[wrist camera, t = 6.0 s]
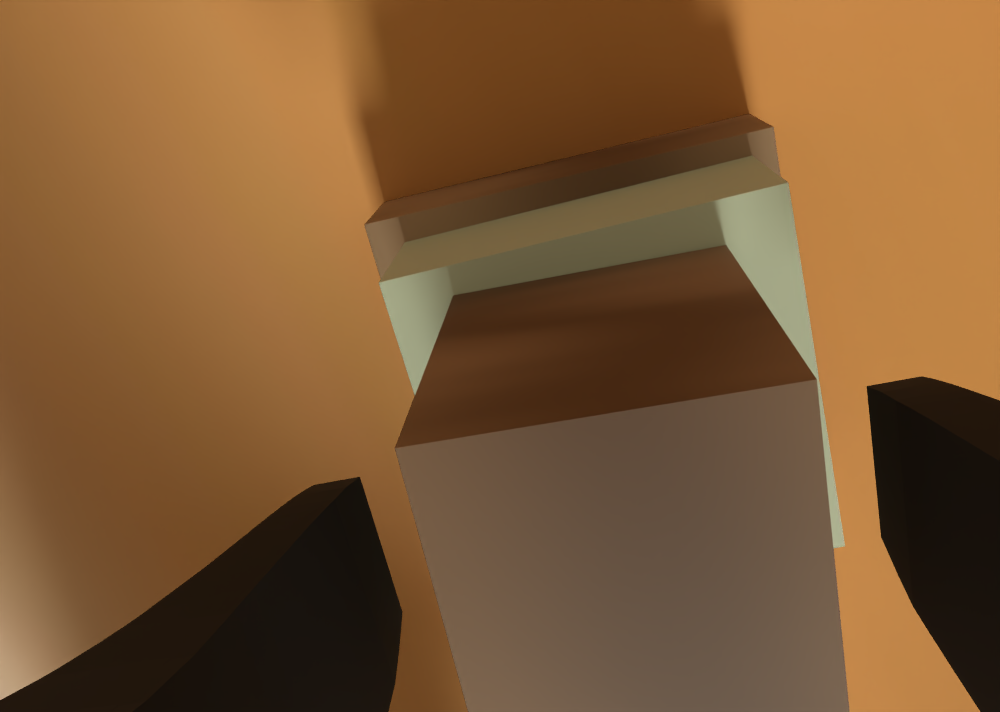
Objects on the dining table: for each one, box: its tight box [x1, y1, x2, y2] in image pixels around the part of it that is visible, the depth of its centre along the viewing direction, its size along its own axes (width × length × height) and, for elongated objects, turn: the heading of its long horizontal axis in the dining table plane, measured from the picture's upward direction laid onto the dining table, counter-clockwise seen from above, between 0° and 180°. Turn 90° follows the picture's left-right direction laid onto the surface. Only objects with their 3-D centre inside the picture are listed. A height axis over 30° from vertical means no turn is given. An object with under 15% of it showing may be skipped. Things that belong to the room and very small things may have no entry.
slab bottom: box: [364, 114, 781, 278], centre depth 18 cm, size 7×7×2 cm
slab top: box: [379, 156, 845, 548], centre depth 15 cm, size 6×6×2 cm
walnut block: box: [395, 245, 849, 712], centre depth 12 cm, size 4×4×5 cm
